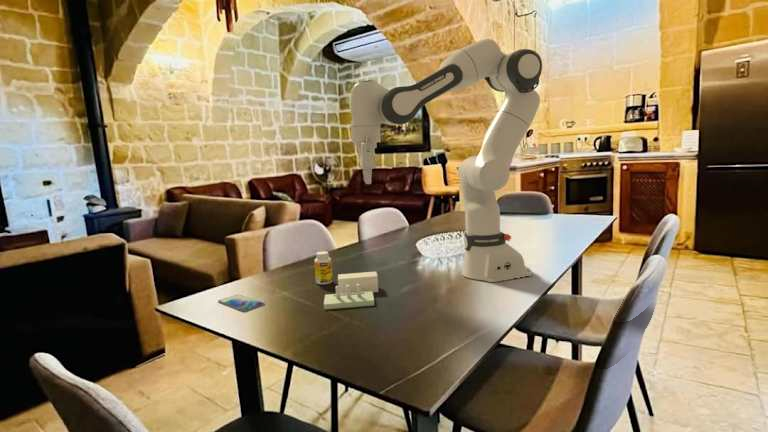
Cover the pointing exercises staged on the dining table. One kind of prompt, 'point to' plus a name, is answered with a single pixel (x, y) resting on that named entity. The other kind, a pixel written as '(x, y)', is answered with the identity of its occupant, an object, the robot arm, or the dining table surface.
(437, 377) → the dining table surface
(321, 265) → the supplement bottle
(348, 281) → the block
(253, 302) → the smartphone
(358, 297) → the board
